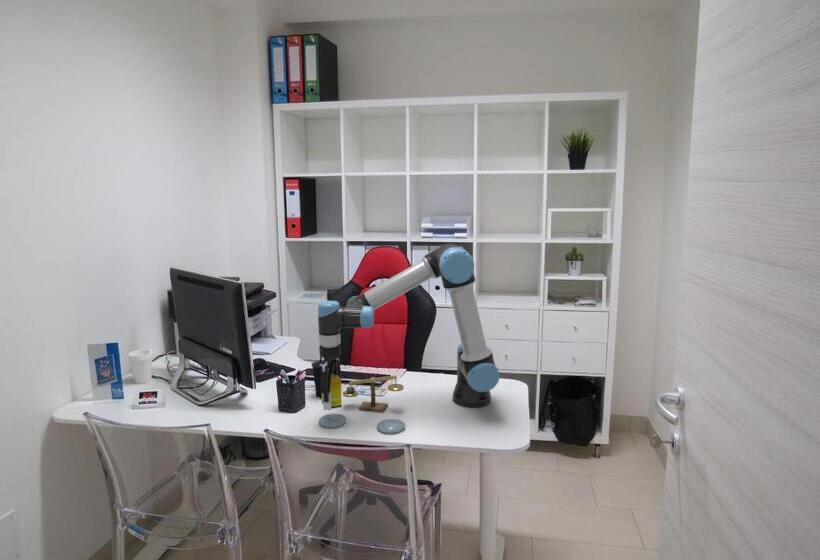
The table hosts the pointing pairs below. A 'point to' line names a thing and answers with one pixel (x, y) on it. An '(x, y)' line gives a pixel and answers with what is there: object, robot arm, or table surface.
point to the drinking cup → (317, 375)
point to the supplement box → (335, 392)
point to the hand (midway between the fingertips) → (331, 404)
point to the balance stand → (373, 403)
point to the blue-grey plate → (391, 426)
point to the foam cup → (141, 365)
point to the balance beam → (392, 387)
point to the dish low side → (332, 421)
